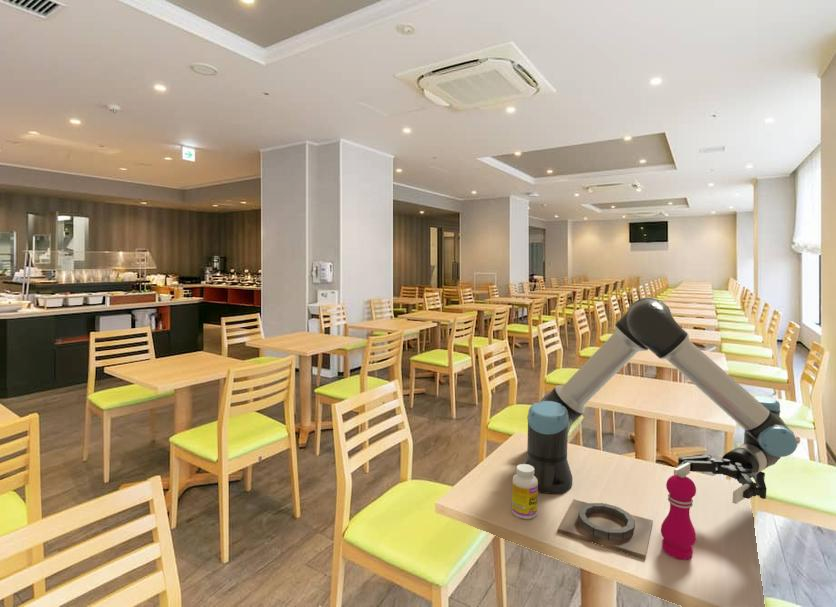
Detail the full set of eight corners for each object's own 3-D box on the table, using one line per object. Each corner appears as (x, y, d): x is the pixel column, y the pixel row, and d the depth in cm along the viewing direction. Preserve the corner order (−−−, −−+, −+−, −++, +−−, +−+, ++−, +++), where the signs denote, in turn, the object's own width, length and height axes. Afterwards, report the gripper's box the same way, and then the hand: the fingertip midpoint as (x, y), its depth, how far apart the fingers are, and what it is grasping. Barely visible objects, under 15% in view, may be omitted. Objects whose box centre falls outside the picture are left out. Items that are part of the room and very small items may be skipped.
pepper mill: (657, 554, 109) (662, 472, 107) (661, 538, 115) (666, 460, 113) (693, 565, 105) (699, 481, 103) (695, 548, 111) (701, 468, 109)
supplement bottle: (530, 523, 122) (531, 476, 120) (507, 514, 126) (508, 468, 124) (541, 511, 127) (542, 466, 125) (519, 503, 131) (519, 459, 130)
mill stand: (557, 532, 118) (557, 521, 118) (573, 502, 131) (573, 492, 131) (645, 559, 107) (646, 547, 107) (652, 523, 121) (653, 513, 121)
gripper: (799, 495, 115) (761, 524, 104) (694, 458, 136) (653, 479, 125) (802, 466, 114) (764, 492, 103) (695, 434, 135) (654, 452, 124)
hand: (703, 485), depth 114 cm, fingers open, 13 cm apart
